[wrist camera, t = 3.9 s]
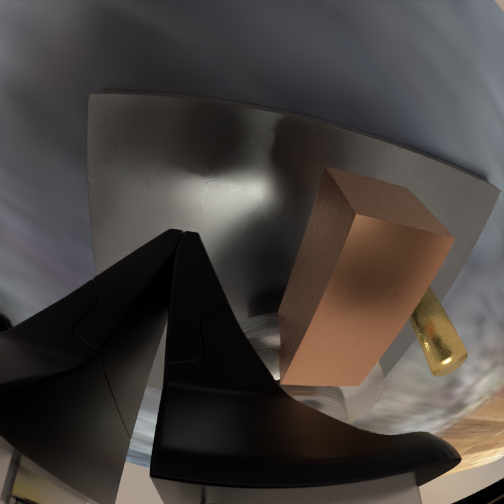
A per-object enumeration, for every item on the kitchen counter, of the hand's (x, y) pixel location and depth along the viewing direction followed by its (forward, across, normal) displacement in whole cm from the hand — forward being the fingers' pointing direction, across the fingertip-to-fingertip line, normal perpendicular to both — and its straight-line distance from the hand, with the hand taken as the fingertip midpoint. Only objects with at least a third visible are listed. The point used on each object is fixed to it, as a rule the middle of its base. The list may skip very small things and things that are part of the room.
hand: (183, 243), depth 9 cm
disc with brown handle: (0, -4, +3) cm, 5 cm away
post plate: (+4, -4, +5) cm, 8 cm away
